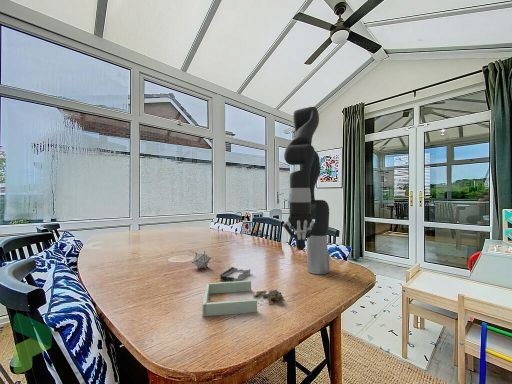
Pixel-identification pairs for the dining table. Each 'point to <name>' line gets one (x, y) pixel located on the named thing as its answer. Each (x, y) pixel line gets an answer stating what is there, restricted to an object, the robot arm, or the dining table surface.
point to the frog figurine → (268, 296)
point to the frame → (228, 306)
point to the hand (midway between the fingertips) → (300, 249)
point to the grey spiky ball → (201, 260)
